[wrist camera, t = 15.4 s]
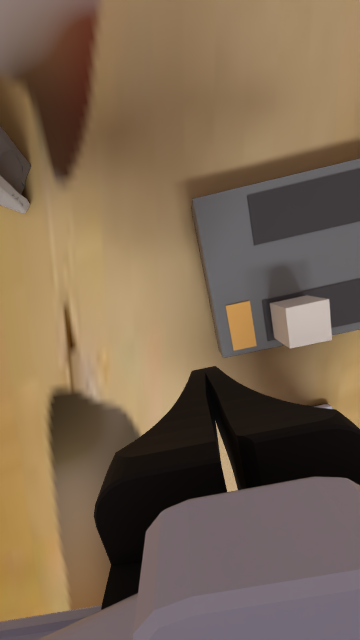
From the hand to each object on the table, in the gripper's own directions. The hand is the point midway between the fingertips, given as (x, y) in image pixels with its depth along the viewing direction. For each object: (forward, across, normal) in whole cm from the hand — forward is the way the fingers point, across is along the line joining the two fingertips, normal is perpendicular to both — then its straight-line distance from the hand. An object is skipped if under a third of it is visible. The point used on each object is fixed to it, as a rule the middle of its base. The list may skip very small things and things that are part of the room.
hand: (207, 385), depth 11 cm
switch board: (+9, -14, -4) cm, 17 cm away
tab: (+7, -8, 0) cm, 11 cm away
